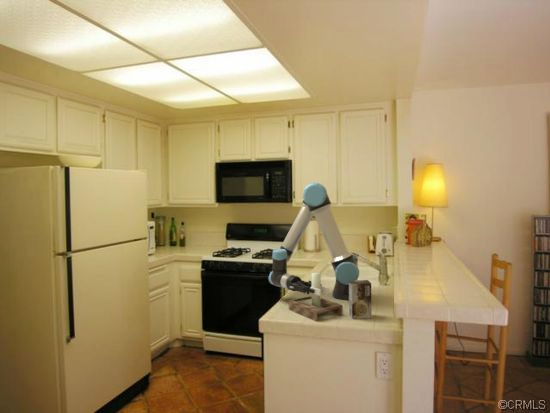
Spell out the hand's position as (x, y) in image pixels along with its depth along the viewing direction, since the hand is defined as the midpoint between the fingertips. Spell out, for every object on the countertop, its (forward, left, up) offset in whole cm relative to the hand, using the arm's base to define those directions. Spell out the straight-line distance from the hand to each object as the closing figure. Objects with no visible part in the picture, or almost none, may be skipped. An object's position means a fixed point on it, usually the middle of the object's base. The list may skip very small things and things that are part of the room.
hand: (324, 291), depth 177 cm
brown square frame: (0, -7, -11) cm, 13 cm away
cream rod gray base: (0, -5, -10) cm, 12 cm away
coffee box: (-13, +10, -11) cm, 20 cm away
